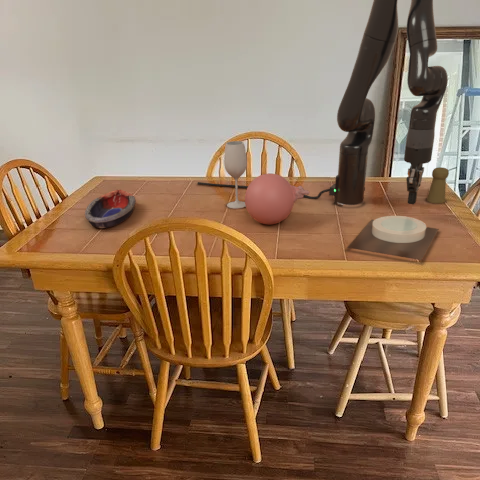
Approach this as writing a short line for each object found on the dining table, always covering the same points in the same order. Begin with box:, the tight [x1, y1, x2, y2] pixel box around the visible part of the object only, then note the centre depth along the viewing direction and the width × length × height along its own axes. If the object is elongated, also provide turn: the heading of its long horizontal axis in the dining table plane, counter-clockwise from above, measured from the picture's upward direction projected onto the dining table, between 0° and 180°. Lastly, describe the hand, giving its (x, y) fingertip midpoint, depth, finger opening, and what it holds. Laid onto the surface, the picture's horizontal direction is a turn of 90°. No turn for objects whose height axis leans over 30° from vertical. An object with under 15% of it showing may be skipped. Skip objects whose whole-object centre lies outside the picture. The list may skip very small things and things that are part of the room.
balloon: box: [244, 173, 311, 225], centre depth 154 cm, size 15×20×15 cm
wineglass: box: [223, 140, 248, 210], centre depth 169 cm, size 8×8×21 cm
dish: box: [84, 189, 136, 229], centre depth 168 cm, size 16×31×5 cm, turn 177°
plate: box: [372, 215, 427, 243], centre depth 144 cm, size 15×15×3 cm
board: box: [347, 219, 439, 261], centre depth 142 cm, size 20×24×1 cm
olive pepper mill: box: [426, 167, 450, 204], centre depth 168 cm, size 6×6×11 cm
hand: (411, 203), depth 152 cm, fingers closed
